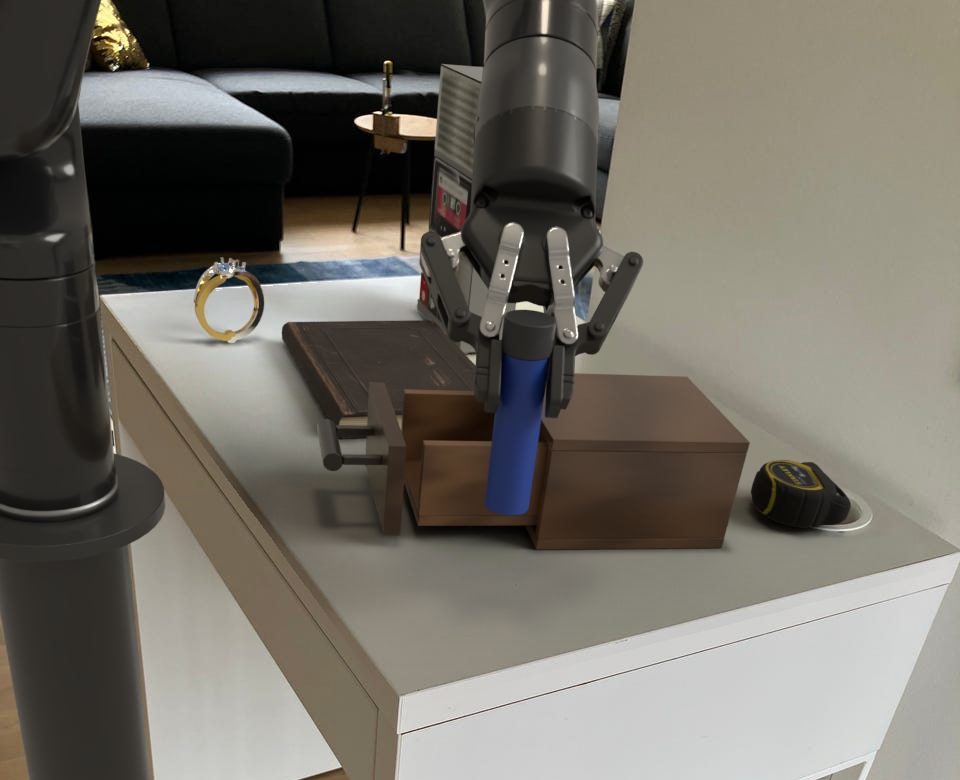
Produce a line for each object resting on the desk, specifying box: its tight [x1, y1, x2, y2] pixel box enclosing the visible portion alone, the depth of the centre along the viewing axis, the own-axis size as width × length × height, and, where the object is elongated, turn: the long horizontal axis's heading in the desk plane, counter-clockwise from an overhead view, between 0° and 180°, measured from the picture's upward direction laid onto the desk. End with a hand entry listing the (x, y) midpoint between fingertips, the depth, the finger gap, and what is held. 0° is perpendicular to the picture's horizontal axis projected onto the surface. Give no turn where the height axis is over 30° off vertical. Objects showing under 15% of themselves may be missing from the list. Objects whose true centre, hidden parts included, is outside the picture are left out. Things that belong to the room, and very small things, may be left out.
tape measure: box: [750, 459, 852, 529], centre depth 86 cm, size 7×7×4 cm
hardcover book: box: [281, 319, 476, 440], centre depth 100 cm, size 16×23×2 cm
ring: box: [193, 257, 265, 344], centre depth 104 cm, size 7×3×8 cm, turn 120°
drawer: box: [316, 382, 549, 536], centre depth 79 cm, size 18×12×7 cm, turn 101°
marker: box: [485, 309, 557, 516], centre depth 64 cm, size 3×3×12 cm
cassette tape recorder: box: [416, 63, 517, 355], centre depth 109 cm, size 14×6×25 cm, turn 21°
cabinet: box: [524, 372, 751, 550], centre depth 82 cm, size 15×13×9 cm
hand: (523, 409), depth 61 cm, fingers closed on marker, 3 cm apart
